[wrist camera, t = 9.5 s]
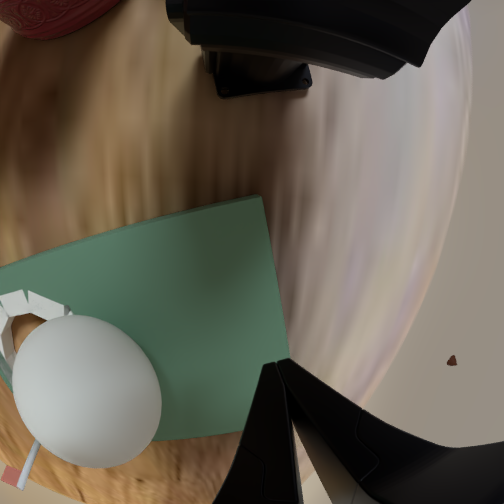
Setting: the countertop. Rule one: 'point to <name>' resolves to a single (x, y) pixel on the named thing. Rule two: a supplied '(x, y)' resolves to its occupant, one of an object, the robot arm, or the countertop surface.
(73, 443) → the ball
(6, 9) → the canister
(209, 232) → the putting deck
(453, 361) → the poop emoji
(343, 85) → the countertop surface
